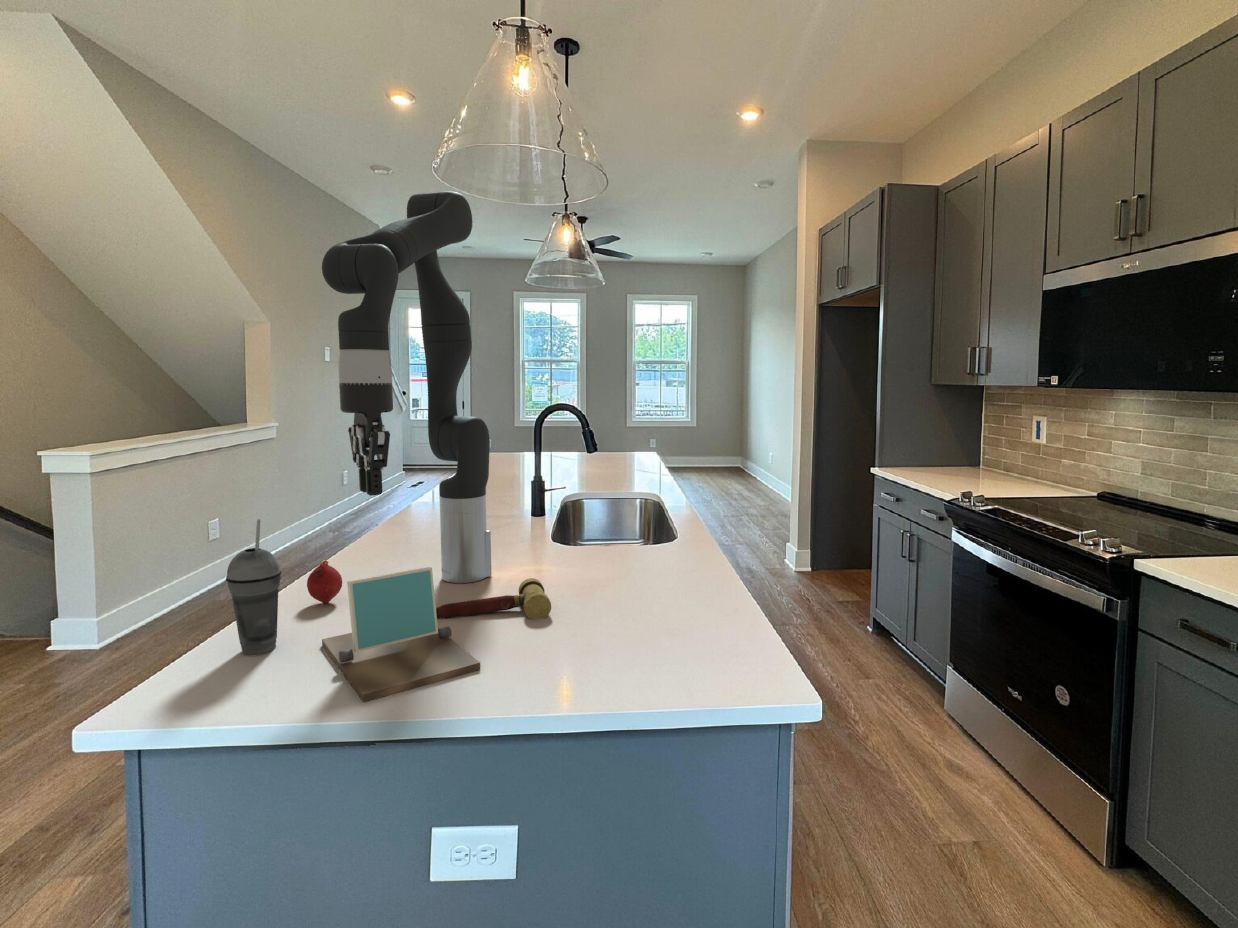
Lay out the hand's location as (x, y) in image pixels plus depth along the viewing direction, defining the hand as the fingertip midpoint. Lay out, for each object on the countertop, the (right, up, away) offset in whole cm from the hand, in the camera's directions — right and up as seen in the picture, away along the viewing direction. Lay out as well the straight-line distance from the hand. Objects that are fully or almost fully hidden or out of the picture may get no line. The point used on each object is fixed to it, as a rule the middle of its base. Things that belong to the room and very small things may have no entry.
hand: (370, 492), depth 101 cm
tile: (+5, -17, -5) cm, 18 cm away
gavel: (+15, -22, +13) cm, 30 cm away
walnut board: (+6, -24, -5) cm, 25 cm away
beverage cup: (-16, -24, -3) cm, 29 cm away
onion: (-15, -21, +18) cm, 32 cm away
